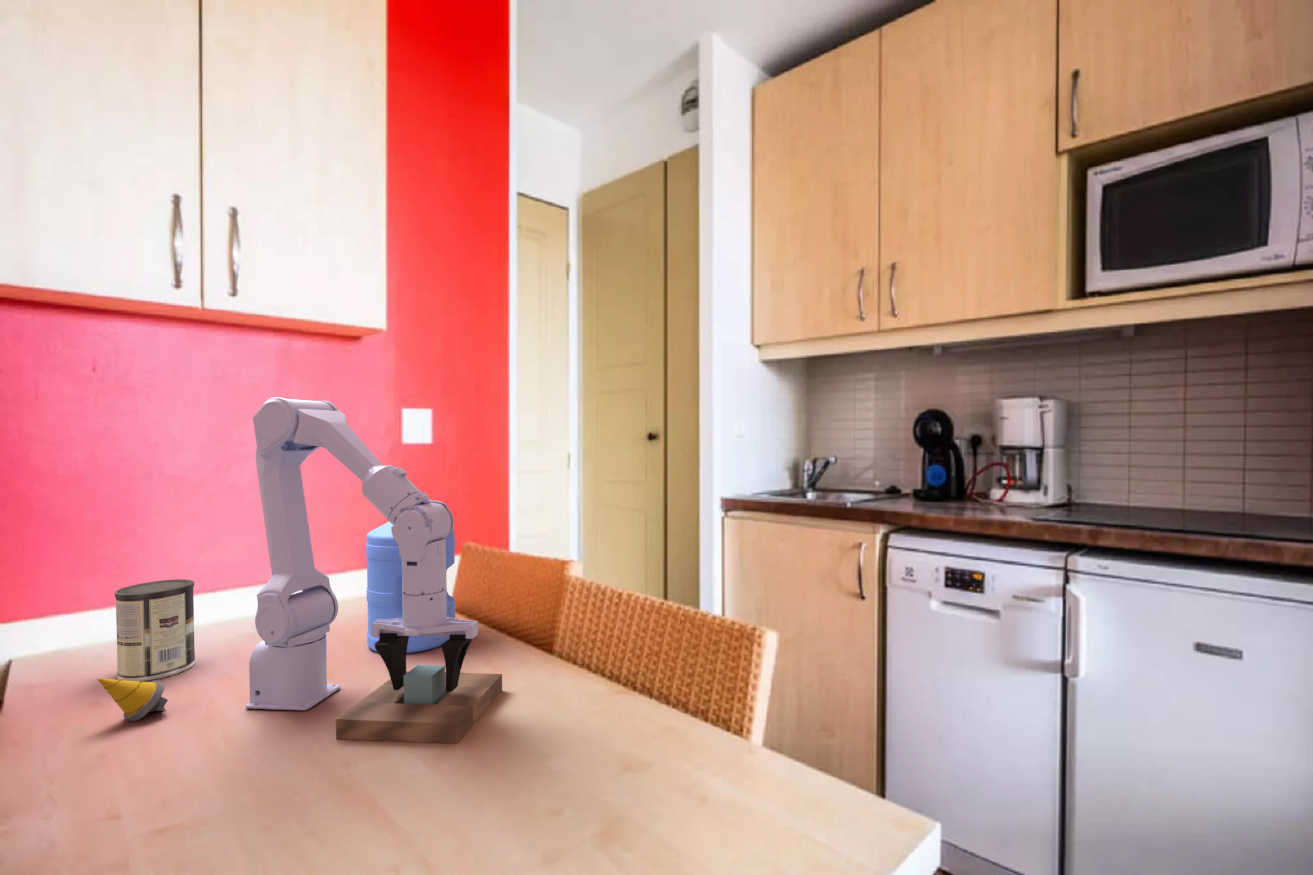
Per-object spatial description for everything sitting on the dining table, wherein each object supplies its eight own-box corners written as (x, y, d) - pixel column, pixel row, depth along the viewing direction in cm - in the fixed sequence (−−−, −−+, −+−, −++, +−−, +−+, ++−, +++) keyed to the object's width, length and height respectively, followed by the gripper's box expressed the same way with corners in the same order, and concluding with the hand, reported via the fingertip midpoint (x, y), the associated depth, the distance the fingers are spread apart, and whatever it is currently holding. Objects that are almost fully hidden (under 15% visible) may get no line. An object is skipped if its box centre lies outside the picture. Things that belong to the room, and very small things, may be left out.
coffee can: (156, 658, 108) (155, 578, 108) (210, 659, 107) (209, 579, 107) (97, 681, 98) (96, 593, 98) (156, 683, 97) (155, 594, 97)
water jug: (347, 651, 110) (345, 496, 110) (406, 625, 125) (404, 488, 125) (420, 659, 106) (418, 497, 106) (472, 631, 121) (470, 489, 121)
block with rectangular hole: (336, 738, 78) (335, 719, 78) (400, 687, 94) (400, 671, 94) (457, 743, 76) (456, 723, 76) (502, 690, 92) (502, 673, 92)
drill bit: (170, 722, 84) (99, 690, 79) (142, 735, 85) (70, 704, 80) (189, 686, 89) (123, 653, 83) (162, 699, 90) (94, 668, 84)
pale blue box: (404, 719, 83) (403, 675, 83) (418, 706, 87) (418, 664, 87) (432, 720, 83) (431, 676, 83) (445, 707, 87) (445, 665, 87)
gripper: (358, 597, 82) (359, 698, 82) (462, 598, 80) (464, 702, 80) (386, 584, 89) (388, 678, 89) (483, 585, 87) (484, 680, 87)
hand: (425, 688), depth 85 cm, fingers open, 7 cm apart
